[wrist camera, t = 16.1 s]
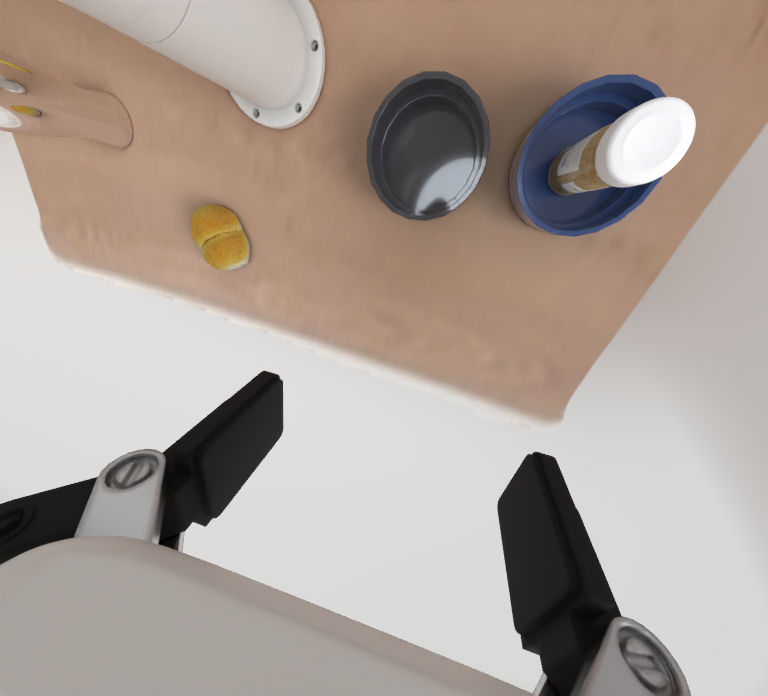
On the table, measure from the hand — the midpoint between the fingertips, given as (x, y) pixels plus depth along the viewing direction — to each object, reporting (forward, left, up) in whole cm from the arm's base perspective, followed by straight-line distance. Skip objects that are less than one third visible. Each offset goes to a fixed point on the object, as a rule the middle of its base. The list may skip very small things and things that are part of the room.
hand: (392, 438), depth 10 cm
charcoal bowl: (-12, +5, -30) cm, 33 cm away
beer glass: (-40, -29, -31) cm, 58 cm away
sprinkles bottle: (-3, +17, -30) cm, 35 cm away
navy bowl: (-3, +17, -30) cm, 35 cm away
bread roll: (-20, -25, -31) cm, 44 cm away
